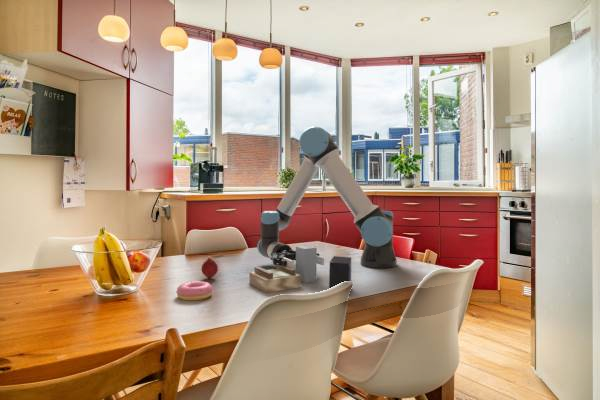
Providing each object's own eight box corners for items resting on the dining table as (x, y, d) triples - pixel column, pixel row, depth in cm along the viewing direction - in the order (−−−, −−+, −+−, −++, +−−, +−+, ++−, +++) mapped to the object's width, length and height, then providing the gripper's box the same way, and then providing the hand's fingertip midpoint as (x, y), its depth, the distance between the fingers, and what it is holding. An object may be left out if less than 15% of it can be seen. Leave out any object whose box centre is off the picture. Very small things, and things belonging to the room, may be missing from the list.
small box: (349, 296, 124) (349, 262, 124) (328, 295, 126) (328, 262, 125) (351, 287, 135) (352, 256, 134) (332, 286, 136) (332, 255, 136)
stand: (282, 278, 146) (282, 263, 146) (300, 287, 135) (301, 270, 135) (249, 283, 139) (249, 267, 139) (266, 292, 128) (266, 274, 128)
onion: (221, 277, 148) (220, 256, 147) (211, 281, 143) (211, 258, 142) (208, 276, 150) (208, 254, 150) (198, 279, 145) (198, 257, 145)
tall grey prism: (307, 277, 148) (307, 245, 148) (316, 281, 143) (316, 247, 143) (295, 279, 146) (295, 246, 145) (304, 282, 141) (304, 248, 140)
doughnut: (183, 291, 130) (182, 279, 130) (216, 292, 129) (216, 279, 129) (171, 302, 119) (171, 288, 119) (208, 302, 119) (207, 288, 118)
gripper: (306, 259, 166) (336, 270, 148) (251, 264, 154) (277, 277, 136) (306, 241, 166) (336, 249, 147) (252, 245, 154) (277, 255, 135)
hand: (308, 263), depth 141 cm, fingers open, 12 cm apart
